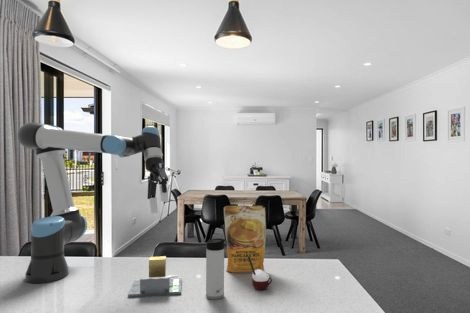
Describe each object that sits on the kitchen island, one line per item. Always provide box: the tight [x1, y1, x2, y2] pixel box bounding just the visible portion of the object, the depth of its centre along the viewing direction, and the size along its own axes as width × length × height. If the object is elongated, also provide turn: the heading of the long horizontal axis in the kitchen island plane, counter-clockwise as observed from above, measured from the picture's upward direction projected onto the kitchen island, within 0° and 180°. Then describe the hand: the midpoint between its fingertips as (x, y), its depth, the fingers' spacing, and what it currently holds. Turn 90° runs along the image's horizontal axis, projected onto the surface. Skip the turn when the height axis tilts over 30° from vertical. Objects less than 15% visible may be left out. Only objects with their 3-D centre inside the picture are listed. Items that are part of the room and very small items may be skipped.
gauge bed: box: [127, 276, 183, 298], centre depth 118 cm, size 18×13×6 cm
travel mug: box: [205, 237, 226, 301], centre depth 112 cm, size 6×7×20 cm
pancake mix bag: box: [223, 204, 267, 274], centre depth 139 cm, size 7×19×28 cm, turn 95°
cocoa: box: [248, 256, 273, 291], centre depth 119 cm, size 10×6×12 cm, turn 86°
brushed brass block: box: [148, 255, 178, 279], centre depth 122 cm, size 10×4×9 cm, turn 98°
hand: (159, 207), depth 128 cm, fingers open, 13 cm apart
